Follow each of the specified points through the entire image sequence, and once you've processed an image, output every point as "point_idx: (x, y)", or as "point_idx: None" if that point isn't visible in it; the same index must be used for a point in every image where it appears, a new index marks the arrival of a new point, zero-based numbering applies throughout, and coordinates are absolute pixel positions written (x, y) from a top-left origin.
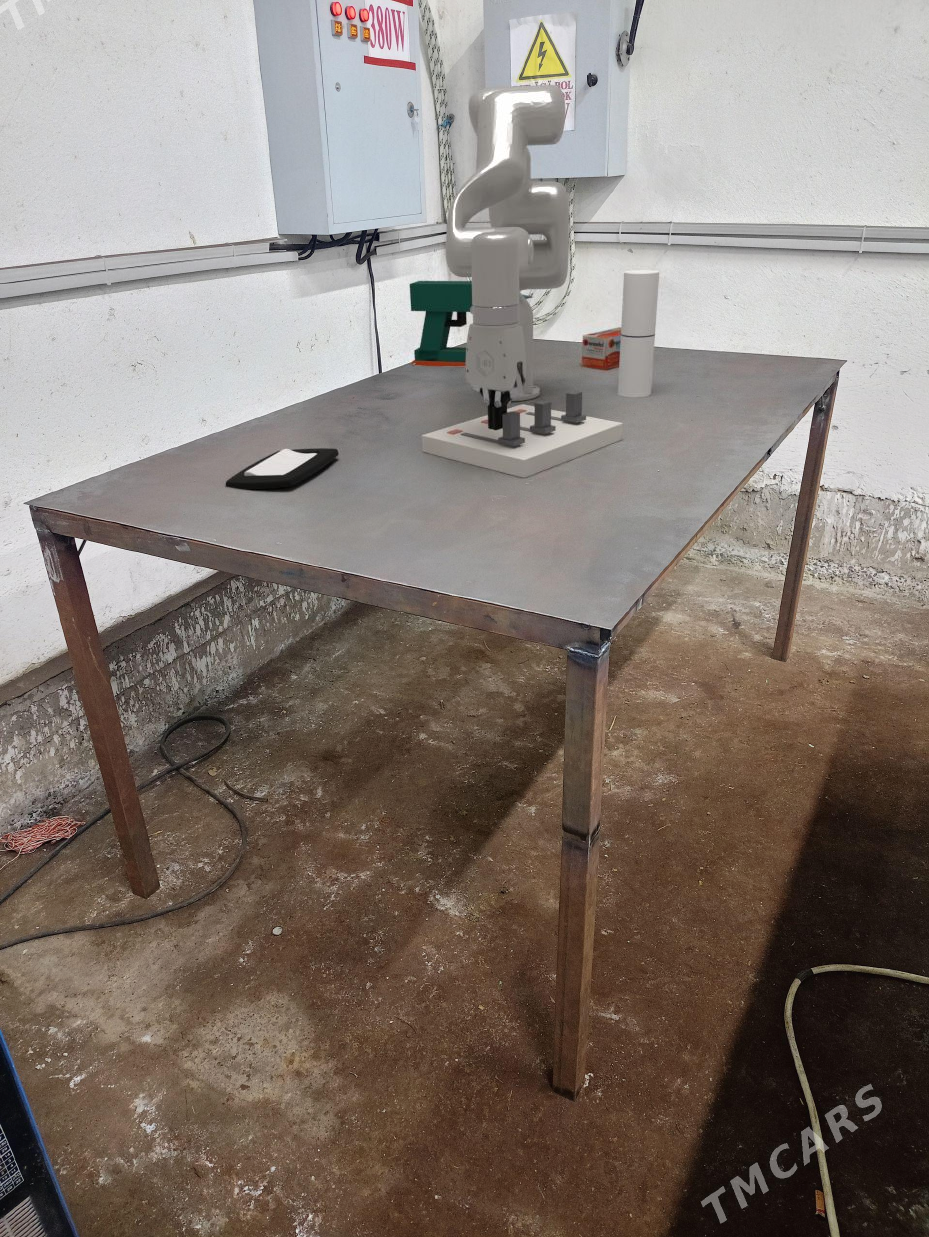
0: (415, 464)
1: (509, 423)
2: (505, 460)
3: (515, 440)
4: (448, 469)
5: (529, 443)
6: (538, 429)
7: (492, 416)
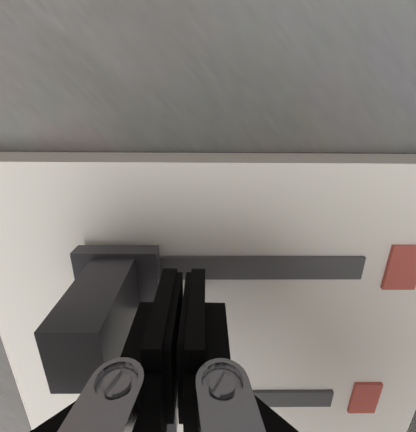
0: (399, 20)
1: (66, 301)
2: (49, 158)
3: (79, 268)
4: (252, 58)
5: None
6: None
7: (168, 305)
